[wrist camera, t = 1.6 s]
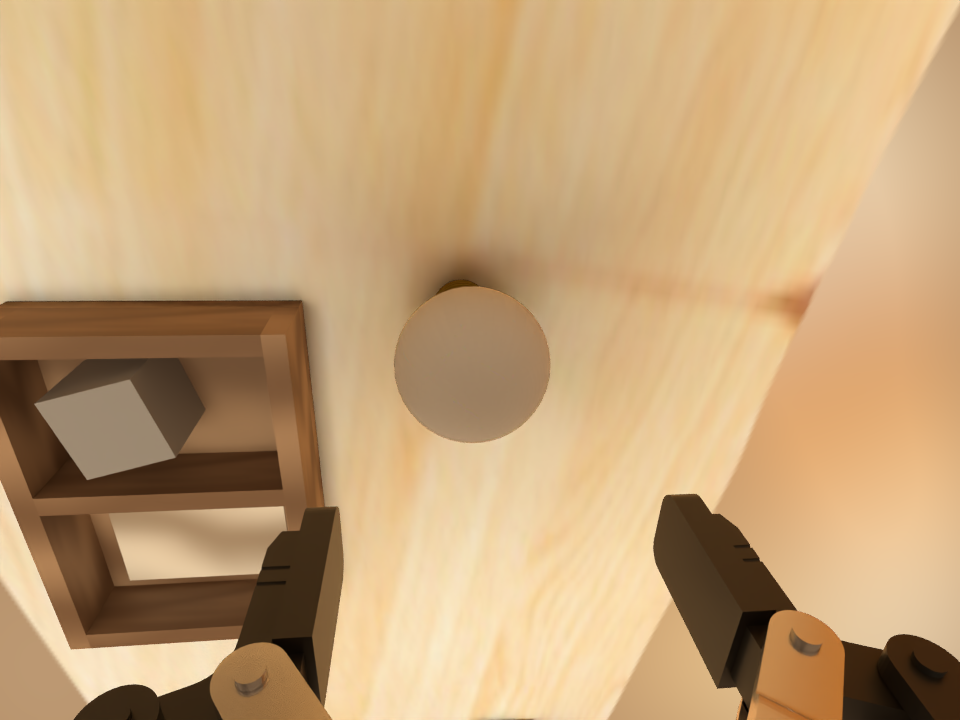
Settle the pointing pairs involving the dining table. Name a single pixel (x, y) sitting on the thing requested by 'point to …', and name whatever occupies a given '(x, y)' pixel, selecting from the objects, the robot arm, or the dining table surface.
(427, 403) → the light bulb
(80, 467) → the grey cube
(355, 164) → the dining table surface
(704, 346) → the dining table surface
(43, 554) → the box
